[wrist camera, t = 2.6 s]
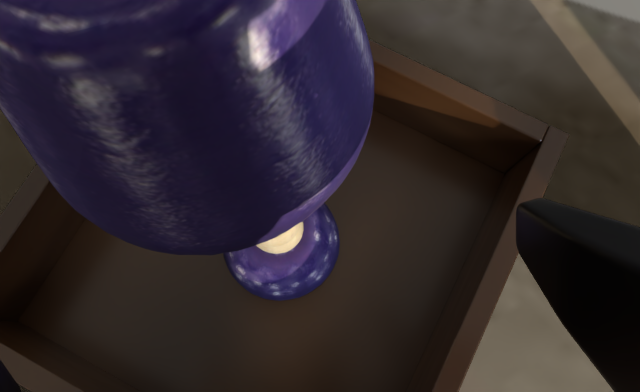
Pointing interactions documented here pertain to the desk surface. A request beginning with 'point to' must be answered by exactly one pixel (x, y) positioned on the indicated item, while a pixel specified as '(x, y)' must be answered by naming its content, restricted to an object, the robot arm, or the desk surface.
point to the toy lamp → (196, 123)
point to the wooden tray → (315, 307)
